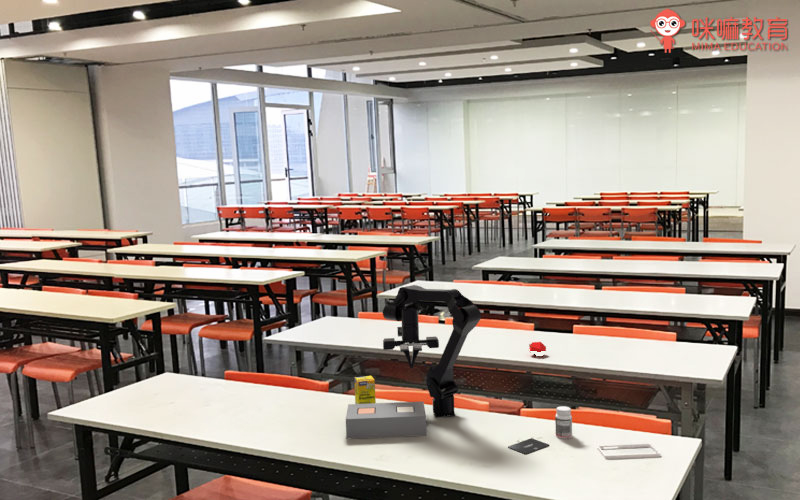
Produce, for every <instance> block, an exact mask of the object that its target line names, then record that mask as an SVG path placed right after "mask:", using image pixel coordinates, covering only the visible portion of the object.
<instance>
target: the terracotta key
mask: <svg viewBox="0 0 800 500" xmlns="http://www.w3.org/2000/svg"><path fill="white" fill-rule="evenodd" d="M371 413H375V408H361V409H359V410H358V414H371Z"/></svg>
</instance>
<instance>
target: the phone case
mask: <svg viewBox="0 0 800 500" xmlns="http://www.w3.org/2000/svg"><path fill="white" fill-rule="evenodd" d="M615 447H616V448H618V449H628V448H629V449H630V448H633V449H634V448H650V449H653V450H654V451H655V452H656V453H632V454H606V453H604V451H603V450H604V449H605V448H615ZM596 449H597V451H598V453H600V454H601V456H602V457H603V458H604V459H607V460H615V459H616V460H617V459H618V460H619V459H637V458H641V459H642V458H659V457H661V452H660V451H659V450H658V449H656V447H654V446H653V445H652V444H651V443H637V444H636V443H635V444H634V443H631V444H612V445H610V444H609V445H605V444H604V445H597V448H596Z"/></svg>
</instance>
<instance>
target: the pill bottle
mask: <svg viewBox="0 0 800 500" xmlns="http://www.w3.org/2000/svg"><path fill="white" fill-rule="evenodd" d="M571 411H572V410H571V408H570V407H569V406H566V405H565V406H557V407H556V414H555V418H554V419H555V421H554V422H555V437H557V438H559V439H565V440H568V439H571V438H572V437H573V416H572V414H571V413H572V412H571Z"/></svg>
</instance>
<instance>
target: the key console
mask: <svg viewBox="0 0 800 500" xmlns="http://www.w3.org/2000/svg"><path fill="white" fill-rule="evenodd" d="M412 406H413V410H414V412H397V407H412ZM361 408H375V413H371V414H358V410H359V409H361ZM345 433H346V435H345V437H346V439H348V440H349V439H368V438H369V439H372V438H396V437H418V436H420V437H421V436H427V433H428V431H427V414H426V409H425V403H424V401H423V400H422V401H400V402H377V403H370V404H355V403H352V404H351V403H350V404H349V403H348V404H347V411H346V415H345Z"/></svg>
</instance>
